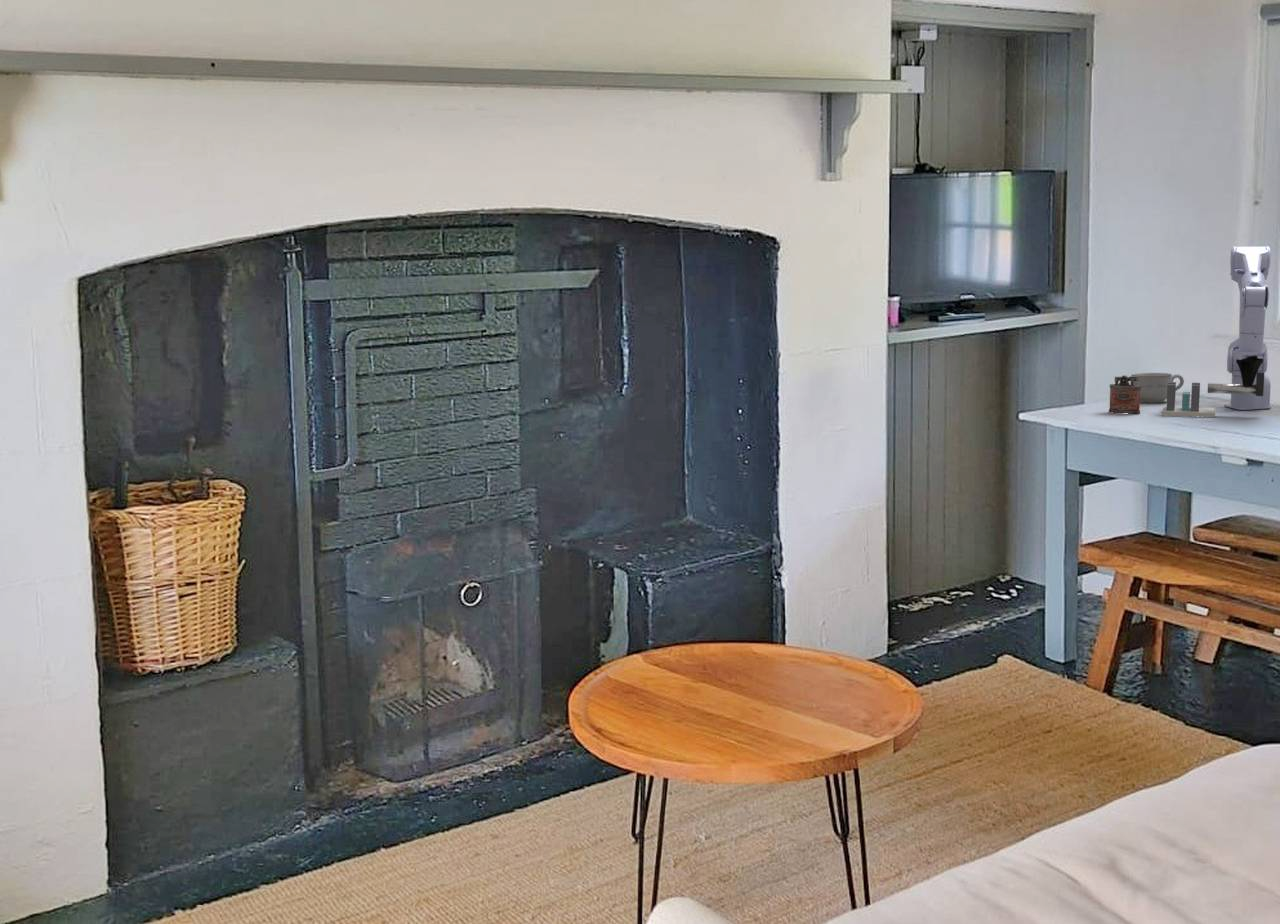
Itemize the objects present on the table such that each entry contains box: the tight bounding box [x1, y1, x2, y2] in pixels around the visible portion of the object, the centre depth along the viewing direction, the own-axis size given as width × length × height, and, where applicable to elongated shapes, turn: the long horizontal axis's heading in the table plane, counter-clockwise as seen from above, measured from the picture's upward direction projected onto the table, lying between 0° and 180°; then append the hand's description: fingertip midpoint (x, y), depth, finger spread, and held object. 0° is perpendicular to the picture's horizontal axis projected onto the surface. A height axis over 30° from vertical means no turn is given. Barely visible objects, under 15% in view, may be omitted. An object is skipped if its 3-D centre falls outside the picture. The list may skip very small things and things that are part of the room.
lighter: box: [1108, 374, 1141, 415], centre depth 413 cm, size 8×3×10 cm, turn 62°
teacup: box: [1131, 372, 1185, 403], centre depth 432 cm, size 14×11×8 cm
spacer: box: [1181, 391, 1191, 411], centre depth 410 cm, size 2×4×4 cm, turn 160°
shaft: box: [1207, 372, 1265, 396], centre depth 405 cm, size 14×2×6 cm, turn 70°
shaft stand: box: [1161, 381, 1216, 418], centre depth 410 cm, size 13×9×8 cm
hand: (1247, 385), depth 404 cm, fingers closed, pressing on shaft
